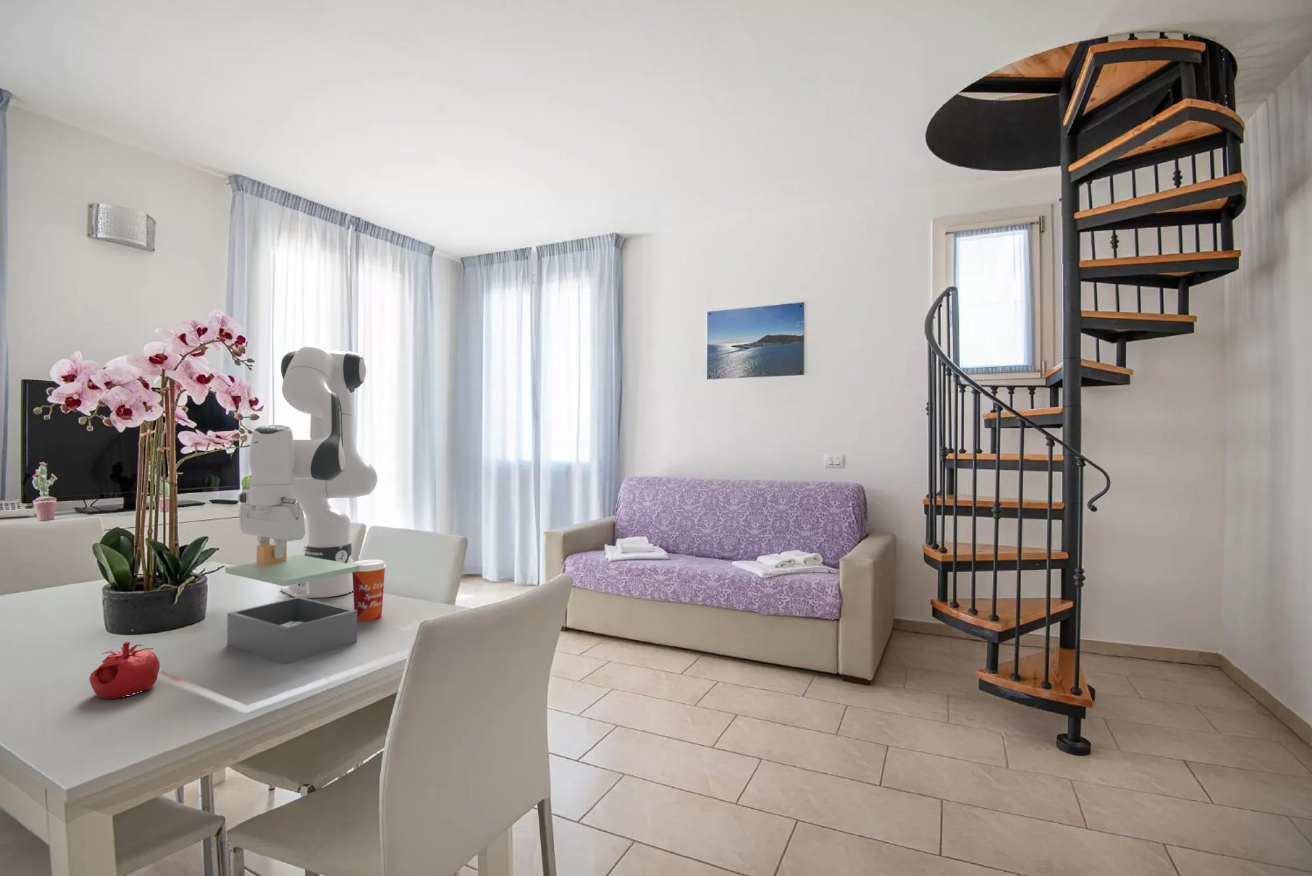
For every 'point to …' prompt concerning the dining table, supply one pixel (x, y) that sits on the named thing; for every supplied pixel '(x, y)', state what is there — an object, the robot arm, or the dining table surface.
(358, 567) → the lid
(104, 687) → the red tomato
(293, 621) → the steel part
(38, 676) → the dining table surface
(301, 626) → the tub
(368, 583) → the coffee cup
